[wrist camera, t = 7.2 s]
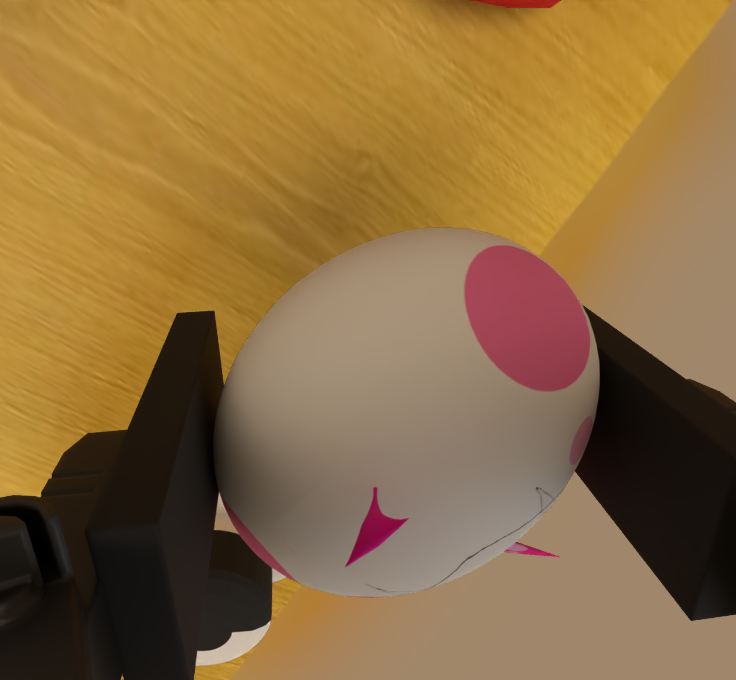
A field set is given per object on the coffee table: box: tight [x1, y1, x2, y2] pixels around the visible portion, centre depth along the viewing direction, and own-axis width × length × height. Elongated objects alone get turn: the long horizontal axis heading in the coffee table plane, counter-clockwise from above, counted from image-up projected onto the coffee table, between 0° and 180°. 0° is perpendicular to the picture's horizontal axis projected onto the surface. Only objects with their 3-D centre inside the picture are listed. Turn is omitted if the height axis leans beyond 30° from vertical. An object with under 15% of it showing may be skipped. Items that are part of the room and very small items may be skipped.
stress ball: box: [213, 227, 600, 598], centre depth 11 cm, size 8×8×7 cm
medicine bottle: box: [196, 493, 286, 666], centre depth 32 cm, size 7×7×12 cm
